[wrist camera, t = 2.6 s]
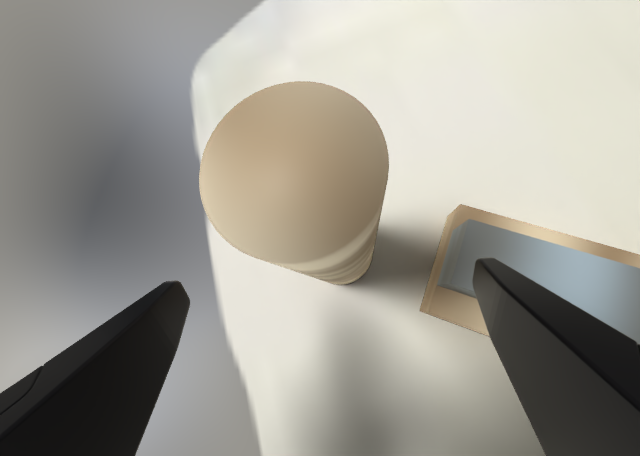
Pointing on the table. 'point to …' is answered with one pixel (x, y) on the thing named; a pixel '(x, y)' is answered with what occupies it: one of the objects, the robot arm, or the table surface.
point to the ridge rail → (472, 308)
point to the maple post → (298, 180)
